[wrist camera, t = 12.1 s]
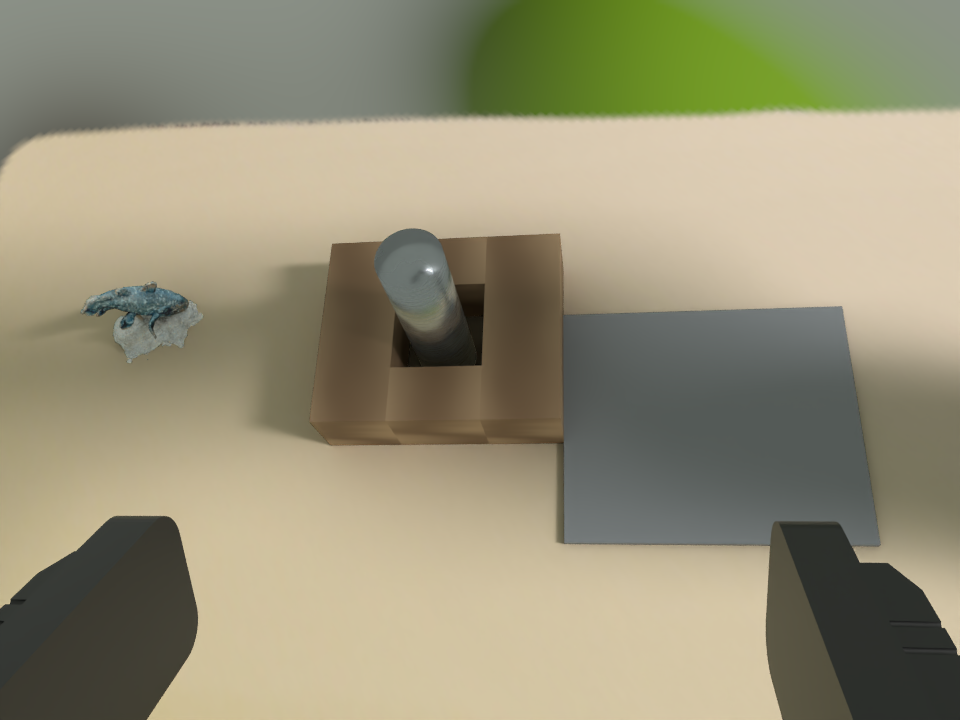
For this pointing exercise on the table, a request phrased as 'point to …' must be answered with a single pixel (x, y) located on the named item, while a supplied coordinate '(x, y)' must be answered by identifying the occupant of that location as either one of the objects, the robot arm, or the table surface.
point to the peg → (425, 298)
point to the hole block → (445, 389)
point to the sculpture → (146, 317)
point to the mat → (711, 427)
